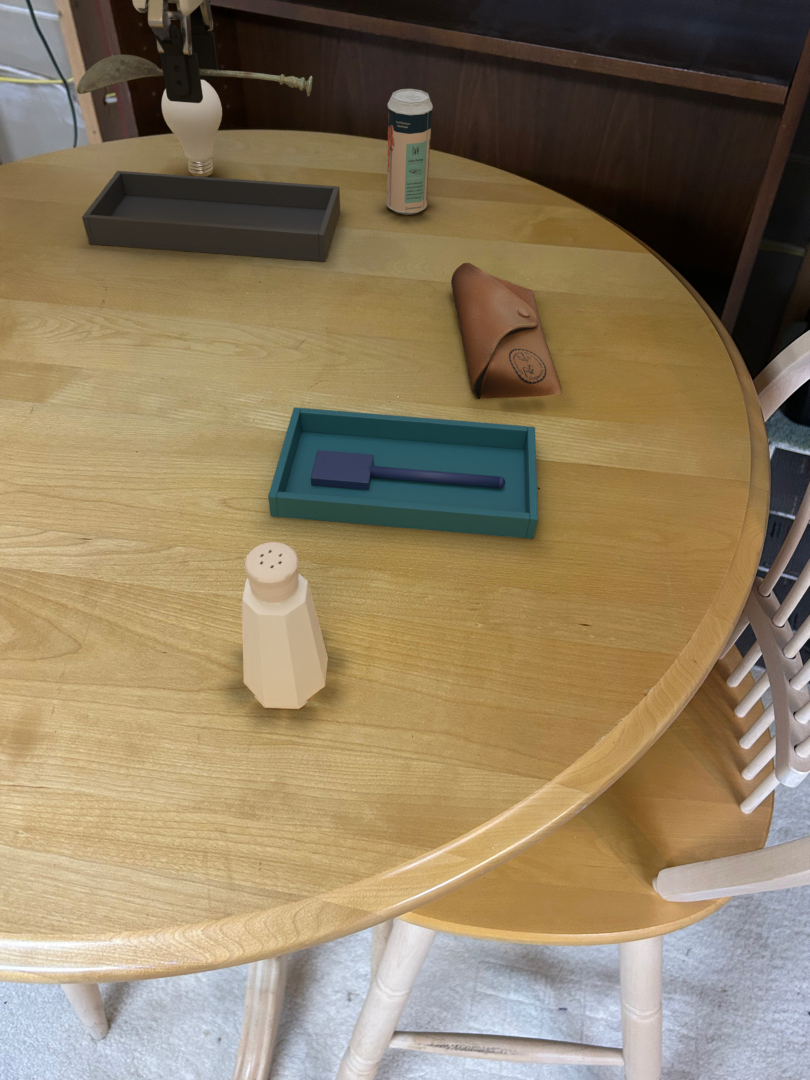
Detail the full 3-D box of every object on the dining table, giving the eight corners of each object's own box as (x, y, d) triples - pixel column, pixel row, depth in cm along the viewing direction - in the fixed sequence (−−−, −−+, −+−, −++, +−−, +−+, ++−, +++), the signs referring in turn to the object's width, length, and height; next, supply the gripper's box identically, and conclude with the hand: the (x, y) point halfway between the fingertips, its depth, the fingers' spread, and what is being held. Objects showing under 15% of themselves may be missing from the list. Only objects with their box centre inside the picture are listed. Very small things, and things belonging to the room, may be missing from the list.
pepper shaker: (226, 692, 49) (197, 578, 41) (271, 627, 52) (253, 509, 44) (304, 726, 48) (291, 614, 40) (345, 656, 51) (341, 540, 43)
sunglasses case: (570, 397, 69) (541, 340, 65) (496, 431, 71) (463, 379, 67) (532, 287, 81) (506, 233, 77) (469, 319, 83) (440, 268, 79)
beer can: (401, 194, 95) (405, 83, 86) (435, 206, 93) (442, 94, 85) (377, 208, 93) (378, 96, 84) (411, 221, 91) (416, 107, 82)
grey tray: (89, 244, 85) (81, 216, 83) (123, 196, 93) (117, 170, 90) (325, 261, 84) (323, 234, 82) (340, 212, 92) (339, 186, 89)
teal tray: (271, 520, 59) (267, 496, 57) (295, 431, 66) (293, 406, 64) (533, 543, 58) (538, 519, 56) (530, 450, 65) (535, 426, 63)
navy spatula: (310, 485, 61) (310, 476, 60) (317, 457, 63) (317, 448, 62) (504, 501, 60) (505, 493, 60) (504, 473, 62) (506, 464, 62)
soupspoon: (90, 82, 78) (72, 111, 74) (79, 43, 76) (59, 72, 71) (315, 81, 78) (310, 111, 74) (312, 43, 75) (307, 71, 71)
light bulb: (210, 160, 100) (196, 62, 92) (241, 179, 97) (229, 79, 88) (163, 175, 97) (144, 74, 88) (193, 194, 93) (177, 92, 85)
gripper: (144, -184, 68) (180, 57, 81) (67, -153, 56) (125, 121, 70) (231, -179, 68) (253, 62, 81) (173, -146, 56) (210, 128, 70)
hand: (194, 87), depth 75 cm, fingers closed on soupspoon, 5 cm apart
